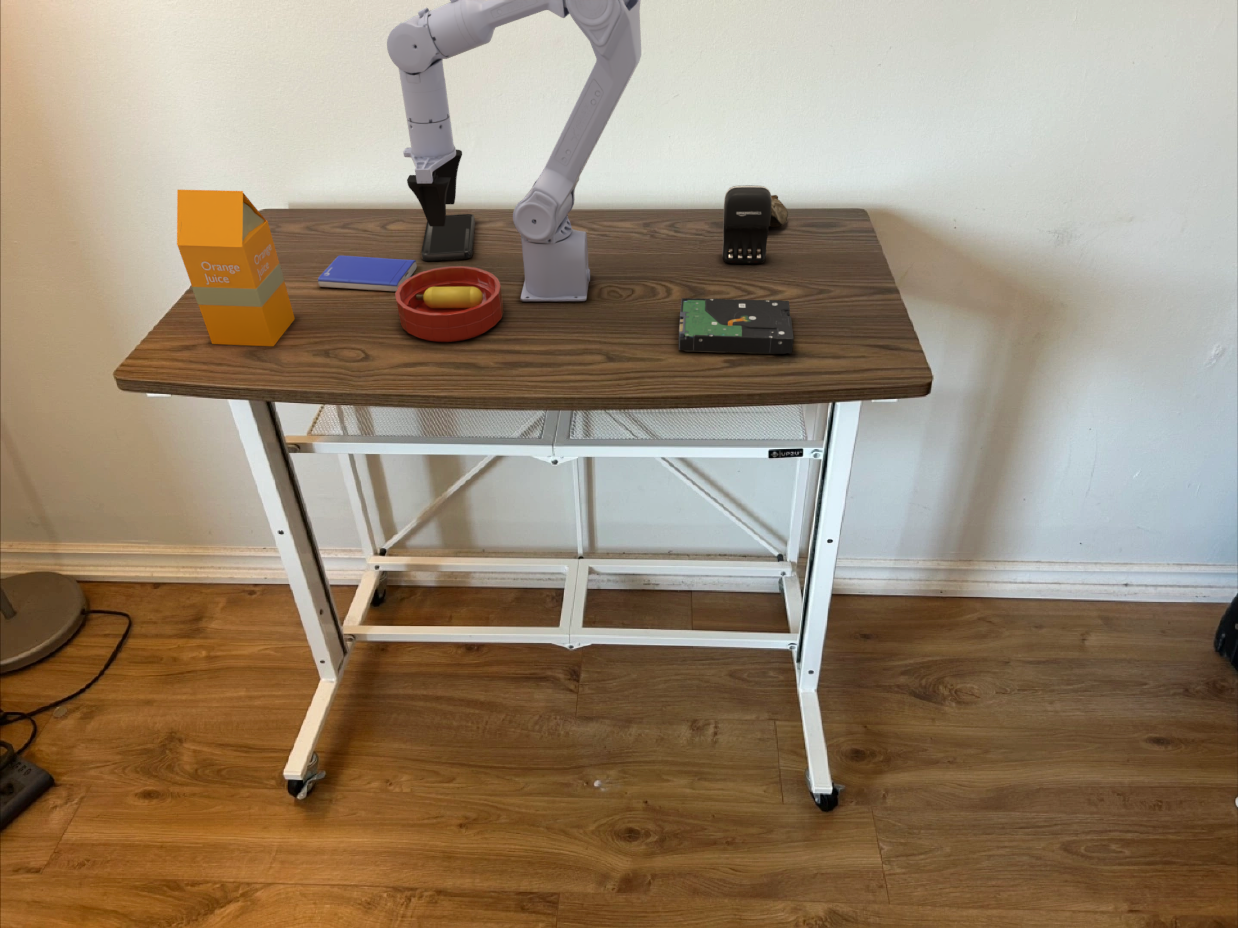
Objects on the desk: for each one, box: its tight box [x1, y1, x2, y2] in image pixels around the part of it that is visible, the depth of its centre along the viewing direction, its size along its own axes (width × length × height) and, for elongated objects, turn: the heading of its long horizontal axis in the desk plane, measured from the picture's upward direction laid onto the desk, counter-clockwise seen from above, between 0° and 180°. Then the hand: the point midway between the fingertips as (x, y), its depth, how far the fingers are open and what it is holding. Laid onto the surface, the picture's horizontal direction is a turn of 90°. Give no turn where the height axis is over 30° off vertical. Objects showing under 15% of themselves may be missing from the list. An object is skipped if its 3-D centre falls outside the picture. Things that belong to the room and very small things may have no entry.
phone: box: [420, 213, 476, 262], centre depth 144 cm, size 8×1×15 cm
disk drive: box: [678, 297, 795, 355], centre depth 119 cm, size 10×3×15 cm
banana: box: [416, 287, 483, 308], centre depth 125 cm, size 9×3×3 cm
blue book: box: [317, 254, 418, 292], centre depth 134 cm, size 2×8×12 cm
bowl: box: [394, 265, 504, 343], centre depth 123 cm, size 14×14×4 cm
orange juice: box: [176, 189, 296, 347], centre depth 117 cm, size 8×9×20 cm
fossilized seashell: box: [769, 194, 789, 228], centre depth 145 cm, size 8×7×10 cm
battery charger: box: [721, 184, 772, 265], centre depth 133 cm, size 7×4×11 cm, turn 87°
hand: (442, 214), depth 127 cm, fingers open, 7 cm apart
